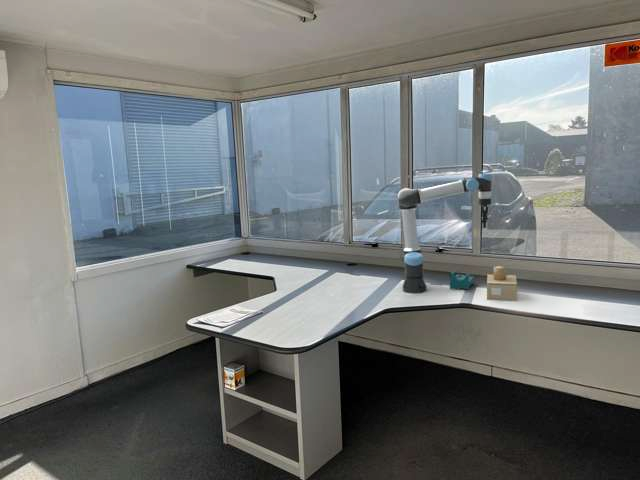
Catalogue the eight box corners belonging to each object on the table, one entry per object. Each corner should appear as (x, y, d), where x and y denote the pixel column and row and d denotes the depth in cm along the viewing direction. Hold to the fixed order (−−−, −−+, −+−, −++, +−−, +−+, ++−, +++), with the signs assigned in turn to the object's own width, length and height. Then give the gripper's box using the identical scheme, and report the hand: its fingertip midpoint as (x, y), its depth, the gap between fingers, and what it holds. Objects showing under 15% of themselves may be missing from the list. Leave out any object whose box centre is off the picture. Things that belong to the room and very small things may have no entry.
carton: (486, 299, 262) (486, 284, 261) (487, 289, 280) (487, 275, 279) (516, 300, 256) (517, 285, 255) (515, 291, 275) (515, 276, 273)
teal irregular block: (466, 291, 282) (468, 275, 280) (449, 288, 288) (450, 272, 285) (472, 284, 298) (474, 268, 296) (456, 281, 303) (457, 266, 301)
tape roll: (501, 281, 262) (501, 269, 261) (491, 278, 268) (491, 267, 267) (508, 279, 266) (509, 267, 265) (498, 276, 272) (499, 265, 271)
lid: (486, 283, 261) (486, 282, 261) (487, 275, 279) (487, 274, 279) (517, 285, 255) (517, 283, 255) (515, 276, 273) (515, 275, 273)
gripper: (491, 199, 273) (490, 234, 276) (491, 196, 296) (491, 228, 299) (477, 200, 276) (477, 234, 279) (479, 196, 299) (479, 228, 302)
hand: (484, 231), depth 289 cm, fingers open, 13 cm apart
